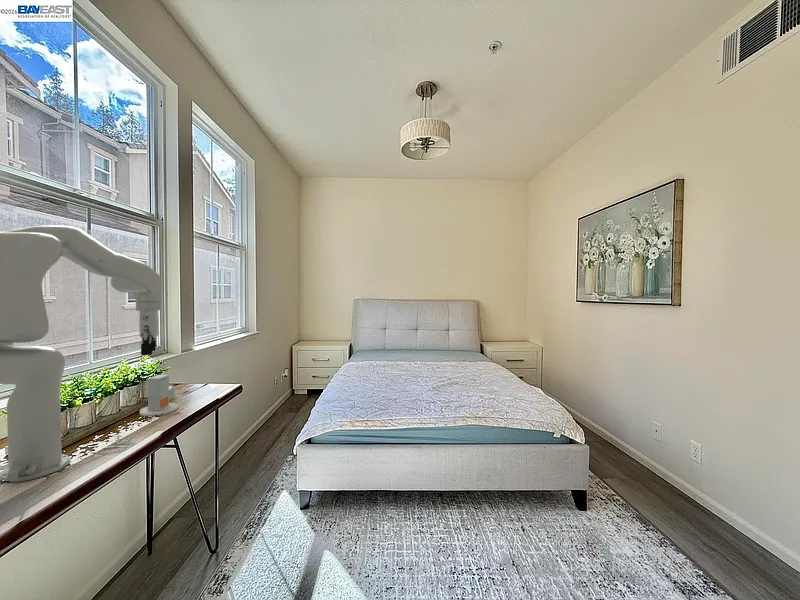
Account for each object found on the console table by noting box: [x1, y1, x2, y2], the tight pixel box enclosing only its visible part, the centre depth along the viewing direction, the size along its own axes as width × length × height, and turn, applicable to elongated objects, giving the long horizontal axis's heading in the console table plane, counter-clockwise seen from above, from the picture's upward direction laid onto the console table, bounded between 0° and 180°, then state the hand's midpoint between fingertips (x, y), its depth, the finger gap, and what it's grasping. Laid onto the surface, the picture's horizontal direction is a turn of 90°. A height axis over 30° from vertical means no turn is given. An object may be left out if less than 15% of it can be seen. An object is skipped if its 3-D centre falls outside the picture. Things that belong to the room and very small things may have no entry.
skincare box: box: [147, 374, 170, 410], centre depth 135 cm, size 6×4×12 cm
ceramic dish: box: [139, 402, 179, 417], centre depth 136 cm, size 12×12×1 cm
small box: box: [169, 385, 175, 402], centre depth 148 cm, size 8×8×5 cm
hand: (148, 352), depth 133 cm, fingers open, 9 cm apart
